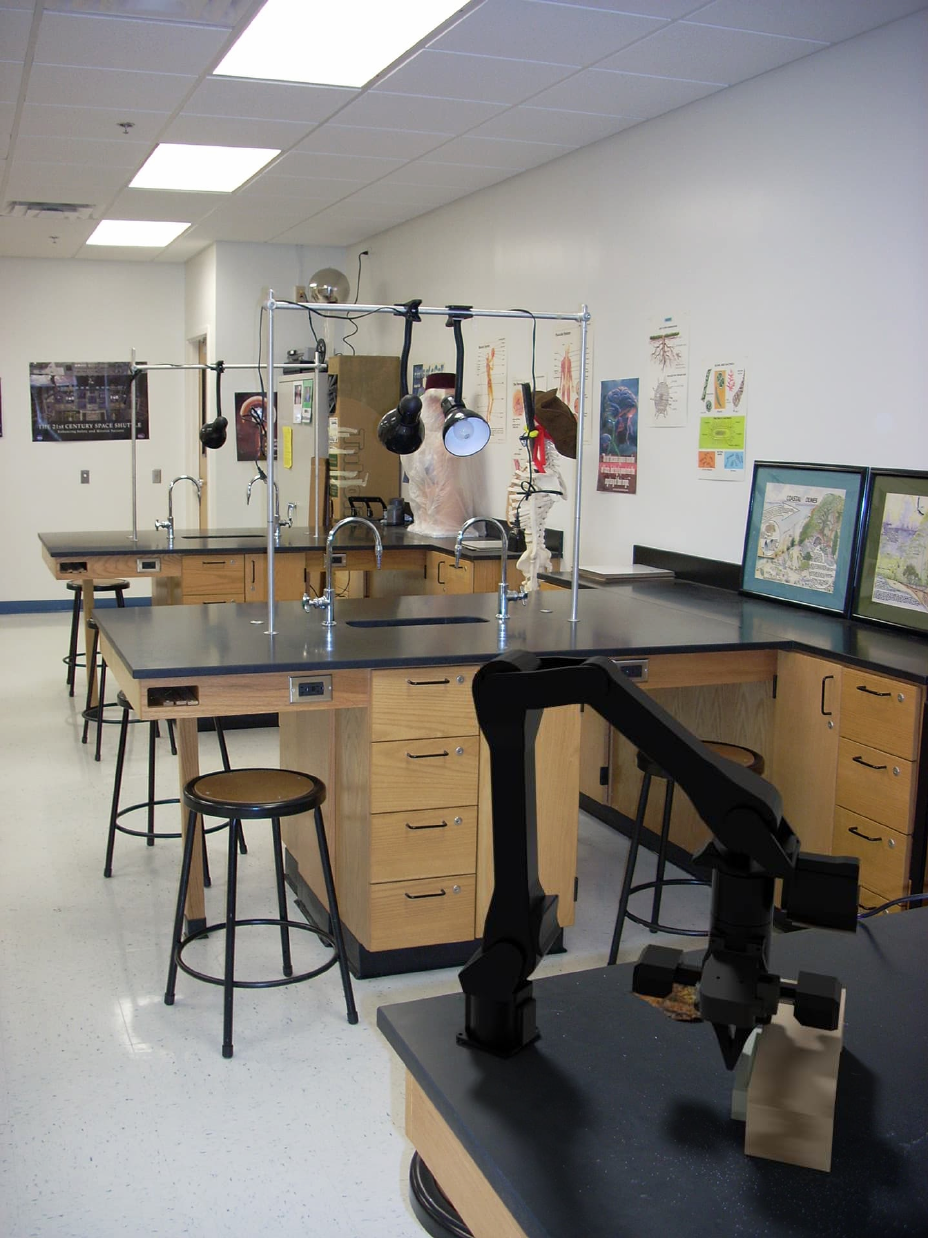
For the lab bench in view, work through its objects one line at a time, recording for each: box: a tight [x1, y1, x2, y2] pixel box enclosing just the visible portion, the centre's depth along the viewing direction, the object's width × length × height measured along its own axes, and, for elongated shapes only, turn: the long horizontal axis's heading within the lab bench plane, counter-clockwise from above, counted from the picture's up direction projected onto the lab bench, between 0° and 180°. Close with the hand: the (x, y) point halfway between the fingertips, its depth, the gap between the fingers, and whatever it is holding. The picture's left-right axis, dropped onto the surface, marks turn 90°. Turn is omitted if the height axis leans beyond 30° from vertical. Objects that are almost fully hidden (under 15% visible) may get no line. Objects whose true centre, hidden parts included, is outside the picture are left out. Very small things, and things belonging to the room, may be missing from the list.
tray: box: [730, 1027, 762, 1122], centre depth 111 cm, size 6×12×3 cm, turn 160°
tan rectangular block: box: [744, 978, 847, 1173], centre depth 110 cm, size 7×22×6 cm, turn 160°
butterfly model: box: [628, 983, 702, 1022], centre depth 128 cm, size 9×12×3 cm
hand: (730, 1069), depth 112 cm, fingers closed
